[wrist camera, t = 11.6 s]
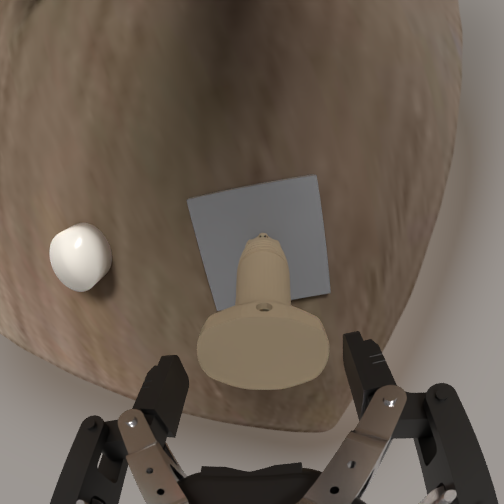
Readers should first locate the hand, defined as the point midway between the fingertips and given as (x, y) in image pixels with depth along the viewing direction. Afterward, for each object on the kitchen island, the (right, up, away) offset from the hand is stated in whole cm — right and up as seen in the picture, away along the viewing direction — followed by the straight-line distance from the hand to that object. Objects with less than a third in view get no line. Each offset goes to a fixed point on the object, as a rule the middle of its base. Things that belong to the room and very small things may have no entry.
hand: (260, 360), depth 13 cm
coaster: (+1, +6, +15) cm, 16 cm away
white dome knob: (-19, +5, +17) cm, 26 cm away
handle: (+1, +6, +14) cm, 16 cm away
